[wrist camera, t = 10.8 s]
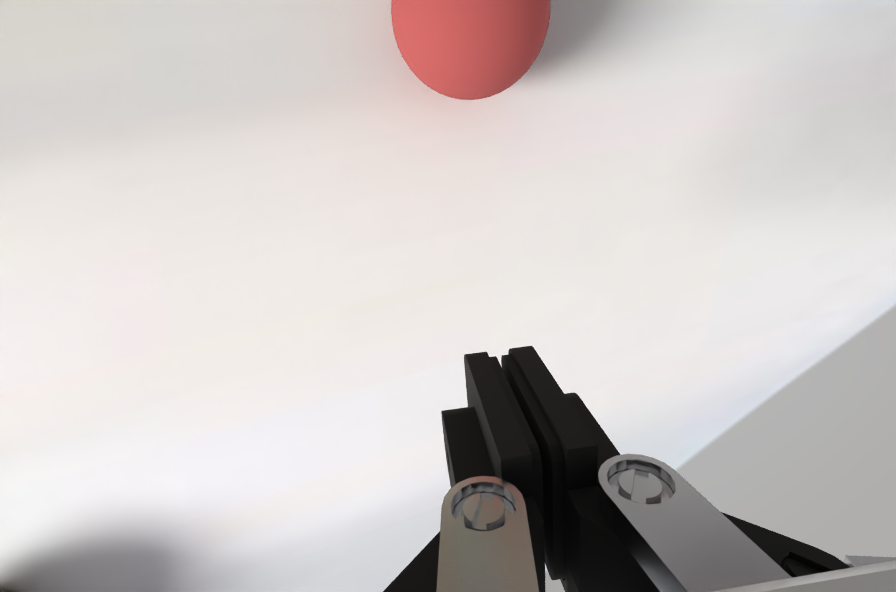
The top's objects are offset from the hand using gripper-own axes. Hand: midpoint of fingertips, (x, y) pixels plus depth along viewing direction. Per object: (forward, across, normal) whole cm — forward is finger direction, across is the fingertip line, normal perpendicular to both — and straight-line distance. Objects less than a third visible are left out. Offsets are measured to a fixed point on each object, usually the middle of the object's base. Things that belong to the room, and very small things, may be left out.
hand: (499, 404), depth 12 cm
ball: (+10, -2, -10) cm, 15 cm away
